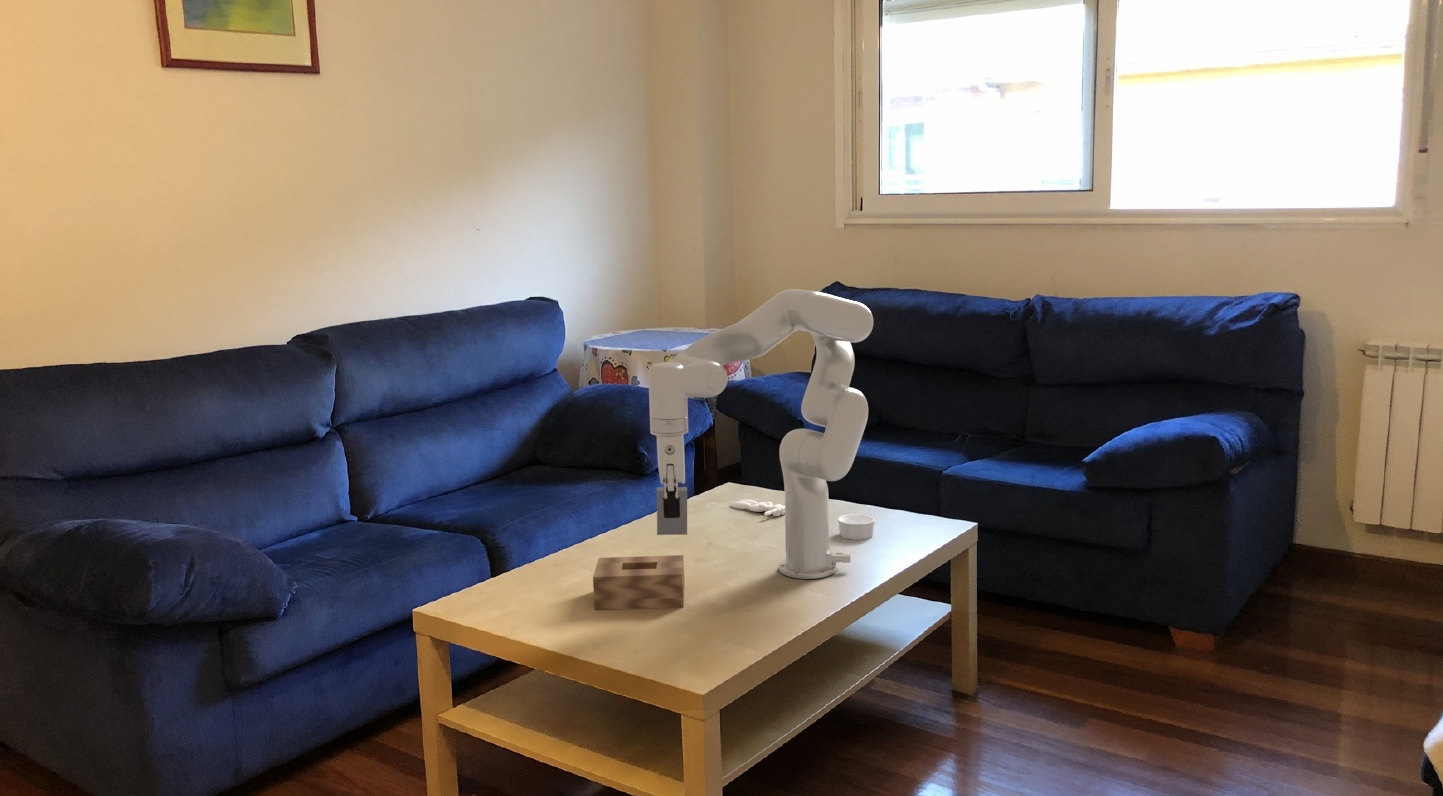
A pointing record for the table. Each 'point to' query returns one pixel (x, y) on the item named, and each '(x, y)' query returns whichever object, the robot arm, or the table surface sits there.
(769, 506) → the decorative figure
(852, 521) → the ramekin
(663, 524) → the grey rectangular block
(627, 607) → the tan slotted block
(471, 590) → the table surface
